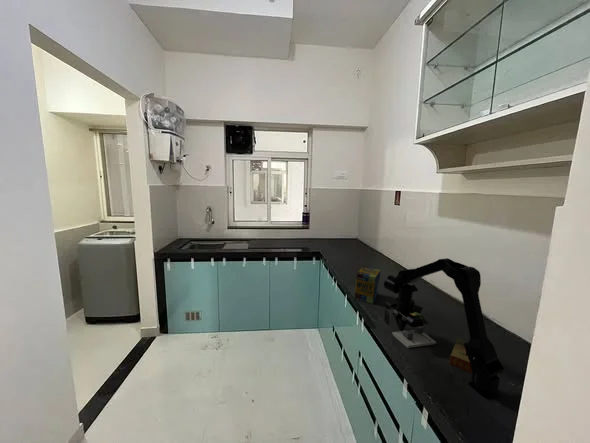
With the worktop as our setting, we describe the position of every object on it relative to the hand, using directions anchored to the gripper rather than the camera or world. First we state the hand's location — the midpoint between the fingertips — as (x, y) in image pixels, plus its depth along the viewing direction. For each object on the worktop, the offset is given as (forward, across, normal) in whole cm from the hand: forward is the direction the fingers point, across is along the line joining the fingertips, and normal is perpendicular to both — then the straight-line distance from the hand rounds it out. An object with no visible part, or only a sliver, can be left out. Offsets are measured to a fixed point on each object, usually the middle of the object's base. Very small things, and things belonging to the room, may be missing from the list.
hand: (401, 331), depth 119 cm
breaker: (0, -2, -8) cm, 8 cm away
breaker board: (+1, -5, -3) cm, 6 cm away
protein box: (+1, +38, -6) cm, 38 cm away
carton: (+2, -20, -14) cm, 24 cm away
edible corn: (+2, +16, -18) cm, 24 cm away
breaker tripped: (0, -5, 0) cm, 5 cm away
